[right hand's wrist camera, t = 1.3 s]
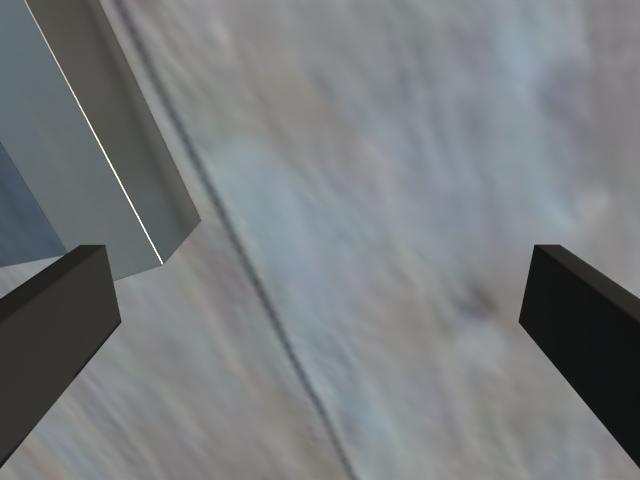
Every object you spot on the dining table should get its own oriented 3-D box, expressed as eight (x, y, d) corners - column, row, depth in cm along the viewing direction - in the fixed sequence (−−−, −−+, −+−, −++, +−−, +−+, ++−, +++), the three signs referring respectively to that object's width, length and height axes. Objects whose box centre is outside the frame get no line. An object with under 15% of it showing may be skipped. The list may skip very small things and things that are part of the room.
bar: (201, 220, 31) (163, 265, 23) (144, 239, 31) (89, 289, 24) (32, -144, 23) (-109, -256, 15) (-40, -110, 23) (-210, -202, 16)
